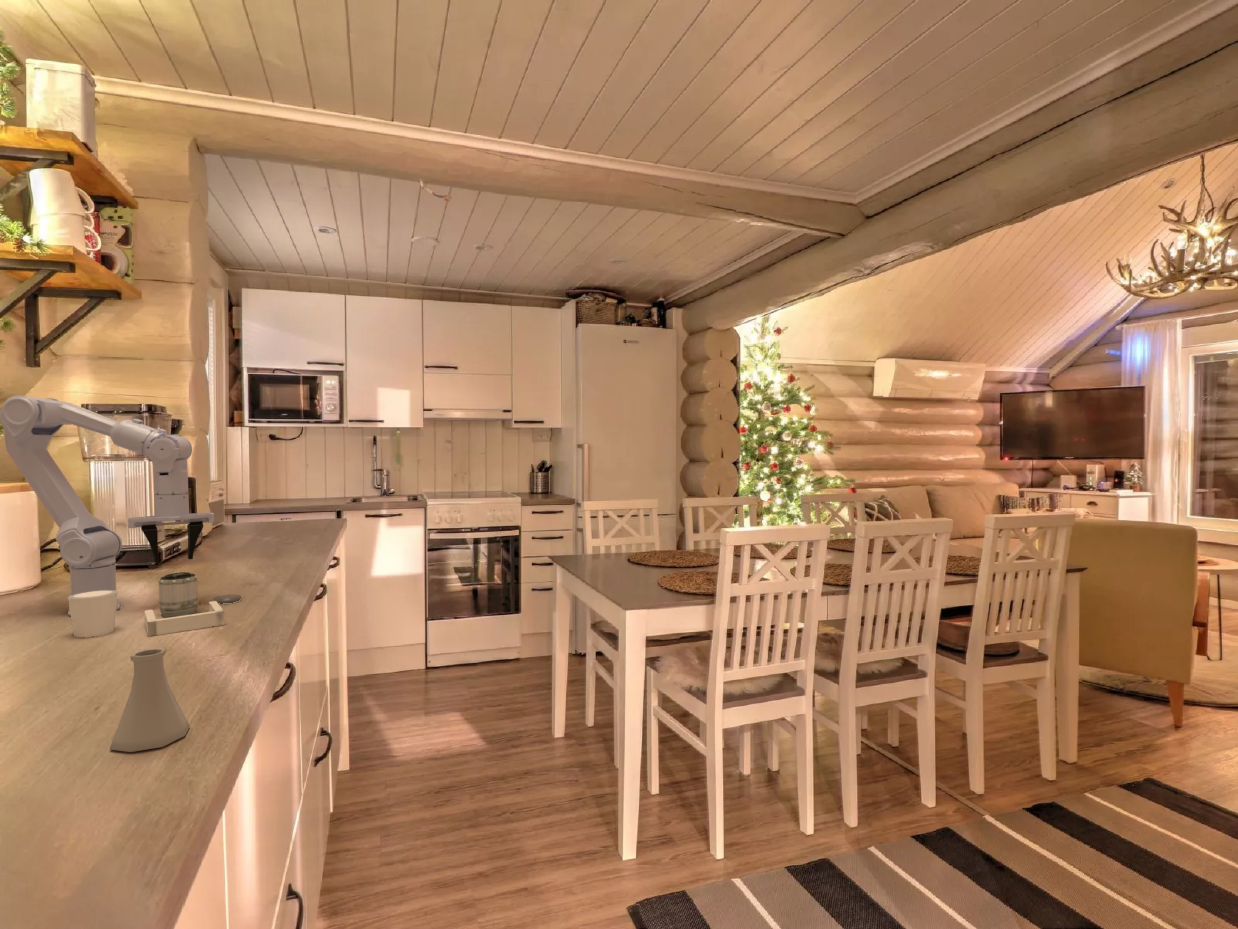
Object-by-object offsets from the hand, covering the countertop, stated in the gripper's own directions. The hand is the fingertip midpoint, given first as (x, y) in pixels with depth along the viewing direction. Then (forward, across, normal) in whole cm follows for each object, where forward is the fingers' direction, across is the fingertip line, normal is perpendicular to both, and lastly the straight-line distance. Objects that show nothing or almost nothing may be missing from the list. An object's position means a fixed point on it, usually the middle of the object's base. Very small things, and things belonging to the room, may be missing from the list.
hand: (173, 560), depth 136 cm
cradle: (+9, 0, -17) cm, 20 cm away
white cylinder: (+10, -13, -14) cm, 21 cm away
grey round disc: (+10, +9, -3) cm, 14 cm away
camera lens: (+10, 0, -8) cm, 13 cm away
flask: (+10, -8, -72) cm, 73 cm away
